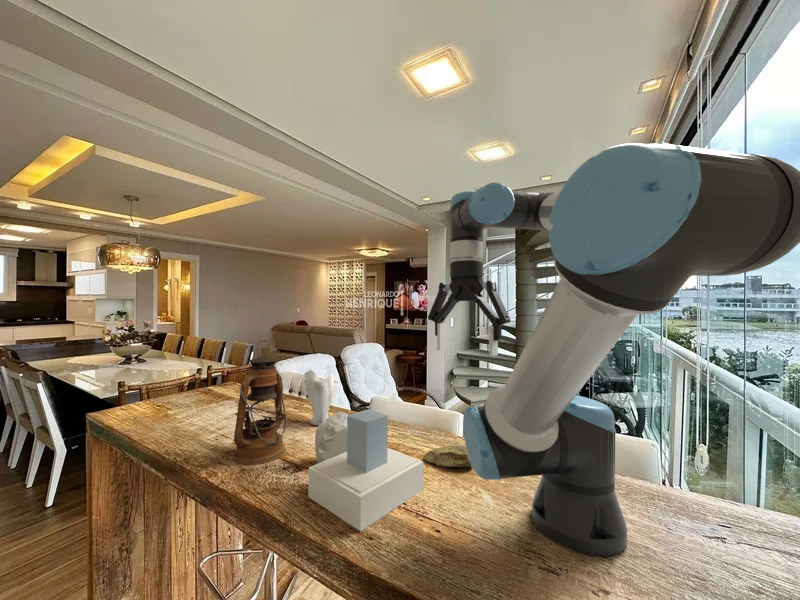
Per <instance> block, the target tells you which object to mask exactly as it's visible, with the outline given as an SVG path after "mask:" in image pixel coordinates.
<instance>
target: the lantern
mask: <svg viewBox="0 0 800 600" xmlns="http://www.w3.org/2000/svg"><path fill="white" fill-rule="evenodd" d="M262 342H265V343H267V347H268V348H267V354H266V355H263V356H260V355H259V345H260V343H262ZM256 350H257V351H256V352H257V357H256V358H251V359H248V363H250V366H249V367H247V368H248V370H247V375H246V376H245V377H244V379H243V380H242V382H241V384H240V386H239V391H240V392H239V400H238V406H237V412H236V413H235V415H236V421H235V429H234V433H233V441H234V445H235V446H236V449H235V452H234V454H233V456H232V460H233V462H235V463H236V464H239V465H244V466H256V465H263V464H266V463H267V464H268V463H270V462H273V461H276V460H277V459H280V458H281V457H283V456H284V454H285V453H286V451H287V450H286V446H285V445H284V444H283V443H284V442H283V437H284V436H283V435H284V432H285V430H286V425H287V419H288V418H287V412H286V409H285V403H284V394H283V393H284V384H283V378H282V376H281V374H280V372H279V371H278V369H277V366H276V365H275V364H276V362H277V361H278V360H279V359H278V358H276V357H274V356H273V357H272V356H271V357H270V356H268V355H269V351H270V345H269V342H268V341H267V340H260V341H259V342H258V344H257V348H256ZM249 388H250V393H249ZM270 400H274V407H275V411H274V412H272V411H270V410H268V411H267V410H266V409H261V408H258V407H254V406H257V405H258V404H260V403H264V402H267V401H270ZM247 401H249V402H250V401H251V402H254V403H253V404H251V405H249V403H248V402H247ZM256 411H260V412H266V413H269V414H271V415H273V416H267V415H261V414H260V416H261V417H262V418H263V419H256V420H255V419H254V414H257V415H259V413H257V412H256ZM253 413H254V414H253ZM250 416H251V417H250ZM251 419H252V420H251ZM283 421H284V426H283V430H282V433H280V432H277V431H278V430H279V428H280V426H281V425H282V423H283ZM244 427H245V428H244Z"/></svg>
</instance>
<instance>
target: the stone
mask: <svg viewBox="0 0 800 600" xmlns="http://www.w3.org/2000/svg"><path fill="white" fill-rule="evenodd" d="M348 415H349V414H347V413H345V412H343V411H337V412H335V413H334V414H333V415H331V416H330V415H329V417H328V418H327V419H326V421H325V423H321V424H319V425H317V426H318V427H317V428H316V430H315V461H316V464H319V463H321V462H323V461H326V460H328V459H331V458H333V457H335V456H338V455H340V454H343V453H345V452H347V416H348Z"/></svg>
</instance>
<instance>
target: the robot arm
mask: <svg viewBox="0 0 800 600" xmlns="http://www.w3.org/2000/svg"><path fill="white" fill-rule="evenodd" d="M449 215H450V216H449V217H450V218H449V219H450V220H449V223H450V226H449V227H450V228H449V229H450V230H449V231H450V234H449V235H450V238H449V239H450V240H449V241H450V243H449V244H450V246H449V247H450V248H449V249H450V250H449V260H450V261H452V262H450V264H449V265H450V266H449V277H450V283H447V282H440V283H439V284H438V291H437V294H436V297H435V299H434V301H433V304H432V306H431V309H430V312H429V314H428V315H427V319H428V320H429V321H432V322H434V335H435V336H436V337H437V339H436V343H437V344H436V345H437V346H436V348H437V349H436V350H437V351H444V350H447V322H445V320H446V319H447V317H448V316H449V315H450V313H451V312H452V311H453V309H454V308H455V306H456V305H457V304H458V303H459V302H474V303H476V305H477V306H478V307H479V309H480V310H481V311H482V312H483V314H484V315H485V316H486V318H487V319H488V320H489V322H490V323H491V324H492V325H489V326H488V356H489V357H495V356H499V350H498V349H499V345H498V344H499V343H498V341H499V342H500V341H502V336H503V335H502V327H503V325H506V324H509V323H510V322H511V318H510V316H509V313H508V311H507V310H506V307H505V305H504V303H503V301H502V299H501V297H500V295H499V292H498V288H497V282H496V281H495V280H487V281H484V280H483V276H484V263H483V262H482V260H483V258H484V230H485V229H488V228H498V229H499V228H500V229H524V230H525V229H526V230H535V231H536V230H538V231H546V232H548V239H549V240H548V241H549V245H550V249H551V253H552V254H553V256H554V258H555V259H554V264H553V265H554V268H555V271H556V273H557V275H558V276H559V278H560V279H559V281H558V283H557V285H556V287H555V289H554V291H553V292H552V295H551V297H550V298H549V300H548V303H547V304H546V306H545V308H544V310H543V312H542V314H541V315H540V317H539V319H538V321H537V323H536V325H535V327H534V329H533V331H532V333H531V335H530V336H529V339H528V340H527V343H526V345H525V346H524V349H523V350H522V352H521V353H520V356H519V358H518V360H517V362H516V364H515V365H514V367H513V369H512V371H511V373H510V375H509V377H508V379H507V381H506V383H505V385H504V386H499V387H497V388H495V389H494V390H492V391H491V392H490V393H489V395H488V396H487V398H486V400H485V402H484V405H481V406H477V405H473V406H469V407H467V408H466V409H465V410H464V412H463V418H462V430H463V431H462V432H463V438H464V443H465V447H466V449H467V453H468V456H469V459H470V462H471V465H472V466H471V467H472V469H473V471H474V472H475V474H476V475H477V477H479V478H480V479H482V480H486V481H487V480H490V481H492V480H497V481H501V480H502V479H512V478H513V479H514V478H523V477H534V476H535V477H536V476H541V478H540V480H539V483H538V486H537V489H536V492H535V493H534V497H533V498H532V503H531V518H532V522H533V524H534V525H535V527H536V529H537V530H538V531H539V532H540V533H542V535H544V537H546V538H547V539H549V540H550V541H551V542H553V543H555V544H557V545H559V546H560V547H563V548H565V549H567V550H569V551H572V552H575V553H578V554H582V555H588V556H592V557H593V556H594V557H611V556H615V555H618V554H620V553H622V552H623V551H624V550H625V549H626V548H627V545H628V528H627V527H628V526H627V524H626V521H625V517H624V515H623V512H622V509H621V506H620V503H619V501H618V500H619V499H618V497H617V494H616V488H615V487H616V485H615V483H616V479H615V478H616V477H615V476H616V475H615V474H616V472H615V470H616V460H615V459H616V434H617V429H616V428H615V415H614V412H613V410H612V409H611V408H610V407H609V406H608V405H607V404H605V403H603V402H601V401H598V400H595V399H592V398H588V397H587V396H581V395H578V394H579V392H580V391H581V389H582V388H584V385H586V383H587V382H588V380H589V379H590V378H591V376H592V375H593V374H594V372H596V370H597V368H598V367H599V366H600V365H601V363H602V362H603V361H604V359H605V358H606V357H607V355H608V354H609V353H610V352H611V350H612V349H613V347H614V346H615V345H616V343H617V342H618V341H619V339H621V337H622V336H623V334H624V333H625V332H626V330H627V329H628V328H629V326H630V325H631V323H633V321H634V320H635V319H636V317H637V316H638V315H649V314H654V313H657V312H661V311H662V310H663V309H665V307H666V306H667V305H668V304H669V303H670V302H671V300H672V299H673V298H674V296H675V295H676V294H677V293H678V292H679V291H680V289H682V287H683V286H684V284H685V283H686V282H687V281H688V280H689V278H691V277H692V276H695V277H697V276H699V277H702V276H704V277H710V276H711V277H713V276H715V277H716V276H717V277H718V276H719V277H725V276H732V275H733V276H734V275H739V274H740V275H741V274H744V273H748V272H752V271H756V270H759V269H762V268H764V267H767V266H769V265H771V264H773V263H775V262H776V261H779V260H780V259H781V258H783V257H784V256H786V255H788V254H789V253H790V252H791V251H793V249H794V248H796V246H798V245H799V244H800V170H799V169H797V168H796V167H794V166H793V165H791V164H789V163H787V162H785V161H782V160H780V159H778V158H776V157H771V156H768V155H762V154H756V153H755V154H753V153H738V152H732V151H723V150H717V149H716V150H715V149H708V148H699V147H692V146H686V145H685V146H684V145H676V144H671V143H668V142H652V143H647V144H646V143H623V144H619V145H618V144H617V145H615V146H612V147H608V148H605V149H603V150H602V151H601V152H600V153H598V154H596V155H593V156H591V157H590V158H588V159H586V161H584V162H583V163H582V164H581V165H580V166H579V167H577V169H575V171H574V172H572V174H571V175H570V176H569V178H568V179H567V181H566V182H565V183H564V185H563V187H562V188H561V190H560V191H559V192H555V191H554V192H553V191H552V192H534V191H533V192H532V191H523V190H522V191H520V190H511V188H509V187H508V186H507V185H505V184H504V183H502V182H498V181H497V182H496V181H494V182H489V183H487V184H485V185H483V187H482V186H481V187H479V188H478V189H476V190H475V191H470V190H468V191H467V190H465V191H461V192H459V193H456V194H454V195H453V196H452V197H451V200H450V208H449ZM483 281H484V282H483ZM483 290H485V291H486V292H487V295H488V298H489V300H490V301H491V304H492V306H493V308H494V309H493V308H492V306H491V305H490V304H489V302H488V301H487V299H486V297H485V296H484V295H483V293H482V292H483ZM450 291H451V293H450V295H449V296H448V294H449V292H450ZM446 299H447V301H446ZM445 301H446V302H445ZM444 303H445V304H444Z"/></svg>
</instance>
